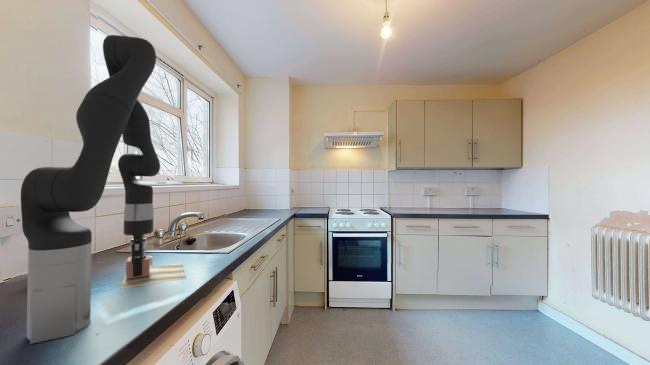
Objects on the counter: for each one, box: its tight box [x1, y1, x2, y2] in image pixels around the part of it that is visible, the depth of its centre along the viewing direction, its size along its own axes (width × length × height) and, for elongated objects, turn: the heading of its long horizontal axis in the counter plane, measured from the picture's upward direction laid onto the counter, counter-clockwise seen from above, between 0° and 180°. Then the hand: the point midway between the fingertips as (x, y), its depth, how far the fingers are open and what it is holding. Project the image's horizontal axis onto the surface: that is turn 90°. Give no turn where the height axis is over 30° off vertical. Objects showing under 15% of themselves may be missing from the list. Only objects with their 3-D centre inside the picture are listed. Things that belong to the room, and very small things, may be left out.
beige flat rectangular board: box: [119, 262, 187, 289], centre depth 84 cm, size 18×16×1 cm
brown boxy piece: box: [125, 254, 153, 279], centre depth 82 cm, size 6×6×5 cm
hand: (138, 272), depth 82 cm, fingers closed on brown boxy piece, 5 cm apart
